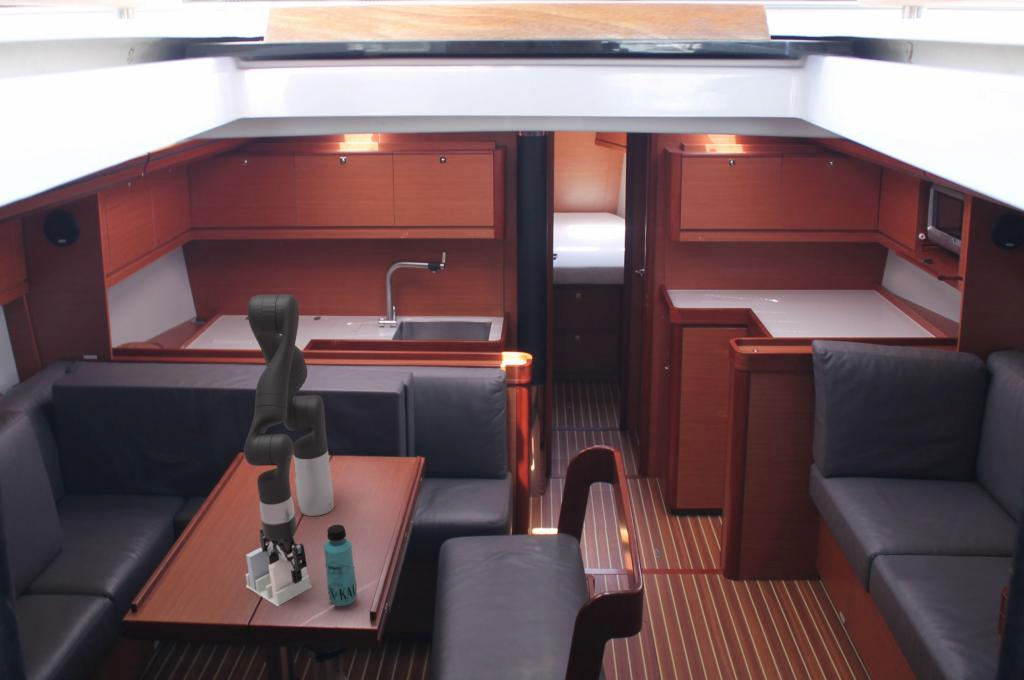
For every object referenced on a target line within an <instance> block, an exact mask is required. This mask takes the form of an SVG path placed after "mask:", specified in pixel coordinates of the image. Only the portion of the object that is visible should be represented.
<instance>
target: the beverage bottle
mask: <svg viewBox="0 0 1024 680" xmlns="http://www.w3.org/2000/svg"><path fill="white" fill-rule="evenodd" d="M326 532H327V539H328V540H327V541H326V543H324V545H323V550H324V559H325V569H326V570H325V572H326V580H327V590H328V596H329V601H330V602H331V604H333V605H335V606H341V607H342V606H347V605H350V604H352V603H353V602H354V601H355V600H356V599H357V596H358V590H357V579H356V572H355V565H354V556H353V549H352V548H353V547H352V546H353V544H352V541H351V540H350V539H348V538H346V537H347V533H346V529H345V526H344V525H341V524H334V525H331V526H329V527H328V528H327V531H326Z"/></svg>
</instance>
